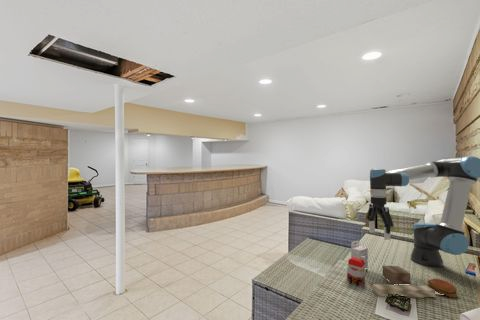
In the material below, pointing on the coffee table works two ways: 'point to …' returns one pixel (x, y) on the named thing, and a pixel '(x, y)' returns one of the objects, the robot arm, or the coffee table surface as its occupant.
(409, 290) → the maple board
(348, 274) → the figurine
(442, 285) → the burger
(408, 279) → the walnut block
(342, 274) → the coffee table surface
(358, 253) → the ink box
